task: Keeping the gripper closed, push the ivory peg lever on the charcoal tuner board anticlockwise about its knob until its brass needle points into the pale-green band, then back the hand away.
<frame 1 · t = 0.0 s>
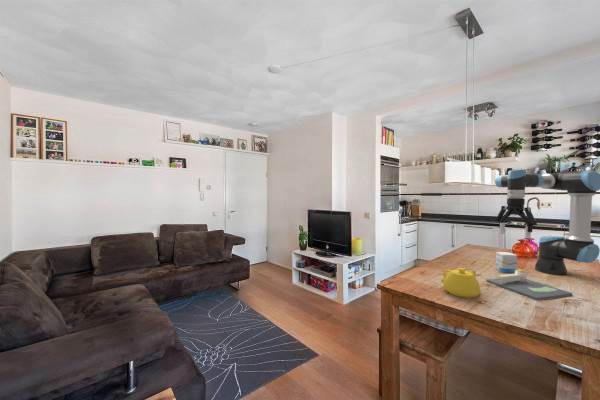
hand: (514, 236, 142), 28 cm above the table, fingers open, 13 cm apart
peg lever: (510, 276, 144), point 5 cm above the table, hinge at 0.0°
tuner board: (526, 288, 140), on the table
ink box: (505, 271, 169), on the table
teapot: (460, 291, 136), on the table
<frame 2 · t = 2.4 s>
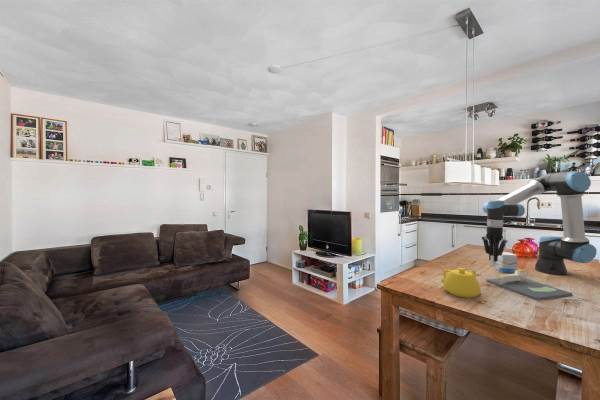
hand: (493, 266, 150), 9 cm above the table, fingers closed
nothing on the table moved.
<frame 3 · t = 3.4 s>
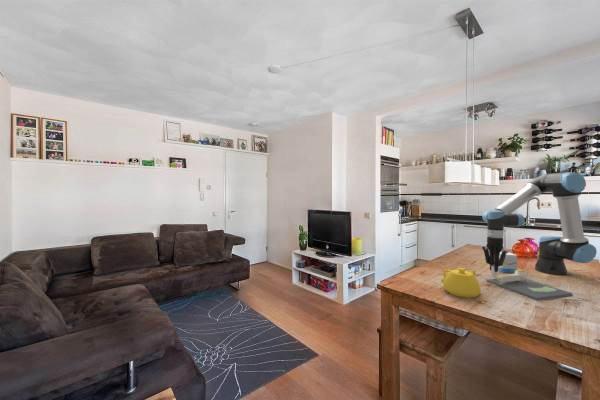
hand: (493, 276, 150), 3 cm above the table, fingers closed
nothing on the table moved.
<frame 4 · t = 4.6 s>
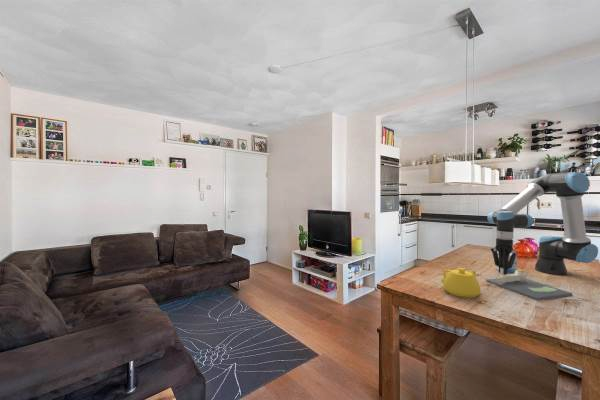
hand: (502, 279, 146), 3 cm above the table, fingers closed
peg lever: (510, 276, 144), point 5 cm above the table, hinge at 0.7°, touching gripper
everything else where it was.
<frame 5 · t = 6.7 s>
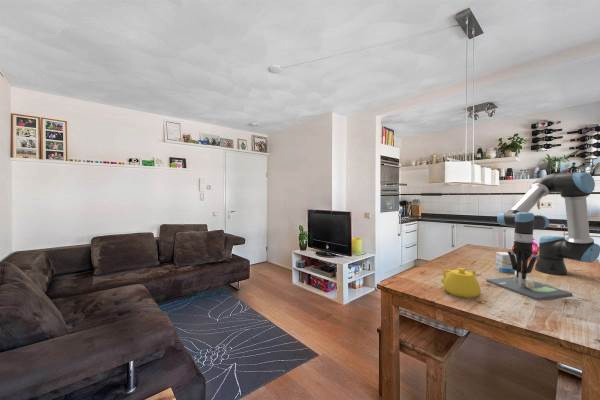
hand: (520, 284, 138), 3 cm above the table, fingers closed
peg lever: (525, 279, 140), point 5 cm above the table, hinge at 52.6°, touching gripper
everything else where it was.
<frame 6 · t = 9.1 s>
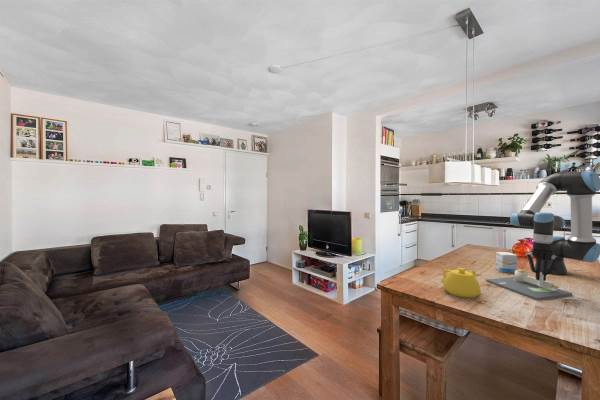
hand: (540, 286, 135), 3 cm above the table, fingers closed
peg lever: (535, 279, 139), point 5 cm above the table, hinge at 94.9°, touching gripper
everything else where it was.
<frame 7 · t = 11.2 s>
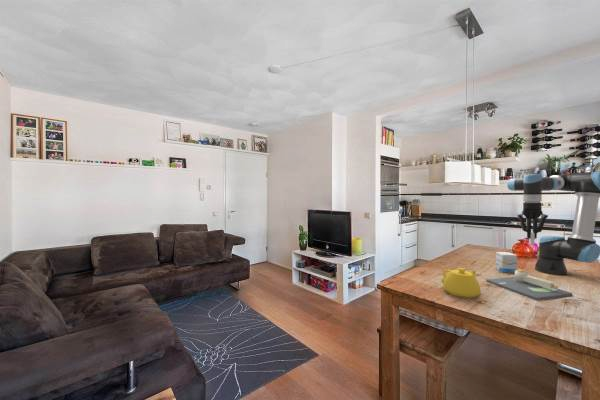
hand: (531, 244, 142), 23 cm above the table, fingers closed
peg lever: (535, 279, 139), point 5 cm above the table, hinge at 94.9°
everything else where it was.
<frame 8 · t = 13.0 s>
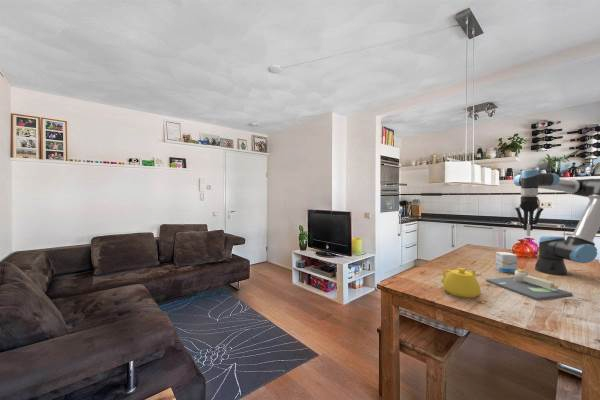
hand: (527, 235, 151), 26 cm above the table, fingers closed
nothing on the table moved.
at the end: peg lever at +95° (first picture: +0°) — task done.
